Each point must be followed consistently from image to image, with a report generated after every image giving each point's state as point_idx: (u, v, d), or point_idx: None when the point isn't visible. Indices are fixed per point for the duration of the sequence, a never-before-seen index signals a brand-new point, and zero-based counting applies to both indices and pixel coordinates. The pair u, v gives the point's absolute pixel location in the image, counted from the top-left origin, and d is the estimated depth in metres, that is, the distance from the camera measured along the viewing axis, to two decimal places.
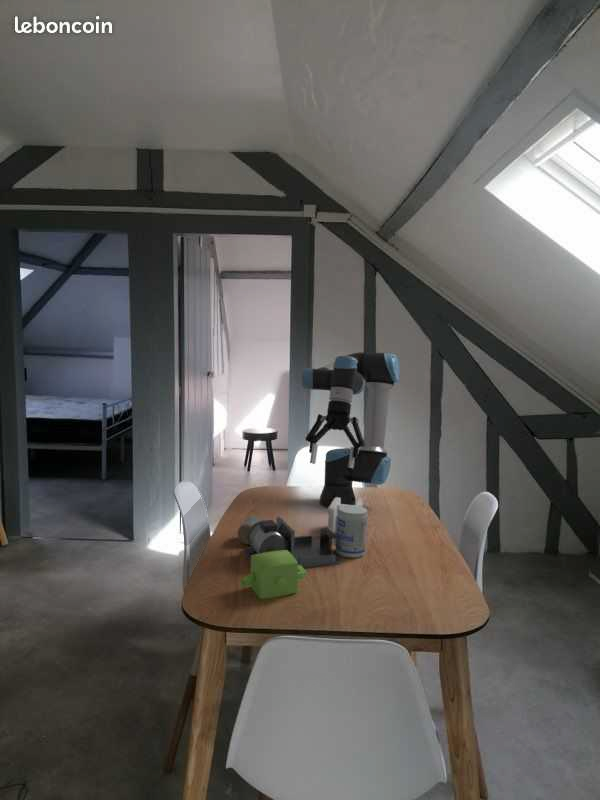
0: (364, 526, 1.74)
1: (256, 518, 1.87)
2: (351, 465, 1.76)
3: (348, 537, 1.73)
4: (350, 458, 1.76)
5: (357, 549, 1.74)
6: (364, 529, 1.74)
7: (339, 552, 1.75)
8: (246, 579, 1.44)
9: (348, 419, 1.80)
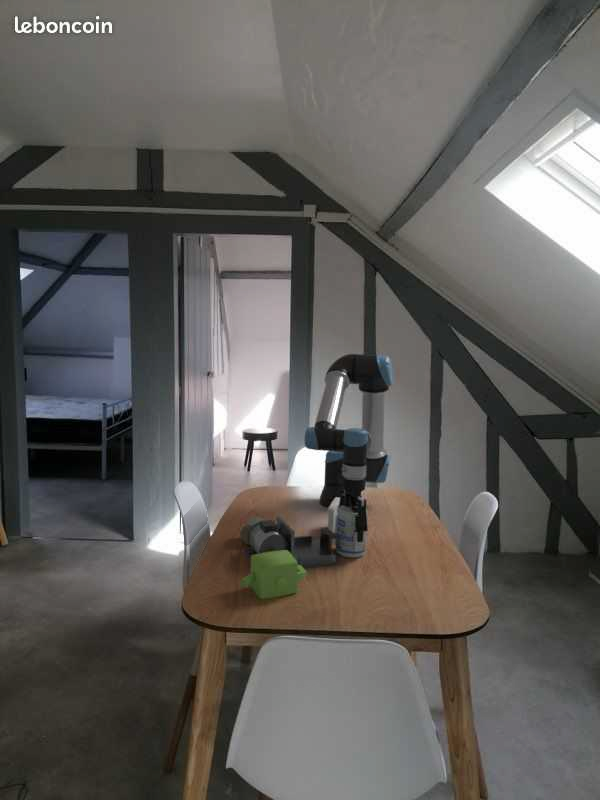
0: None
1: (258, 518, 1.86)
2: (357, 549, 1.73)
3: (348, 537, 1.73)
4: (354, 542, 1.72)
5: None
6: None
7: (339, 552, 1.75)
8: (246, 579, 1.44)
9: (356, 499, 1.72)
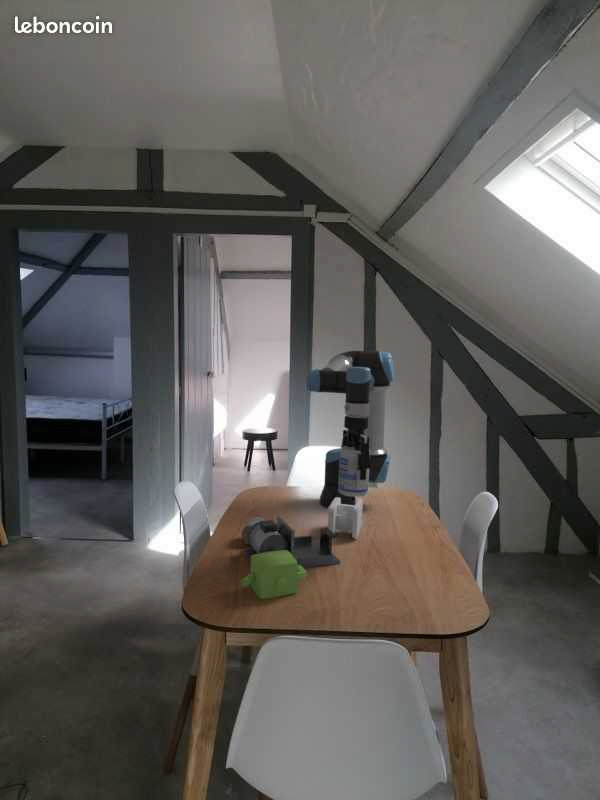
0: None
1: (260, 519, 1.86)
2: (359, 487, 1.71)
3: (350, 476, 1.71)
4: (357, 480, 1.70)
5: None
6: None
7: (342, 491, 1.73)
8: (246, 579, 1.44)
9: (359, 437, 1.70)
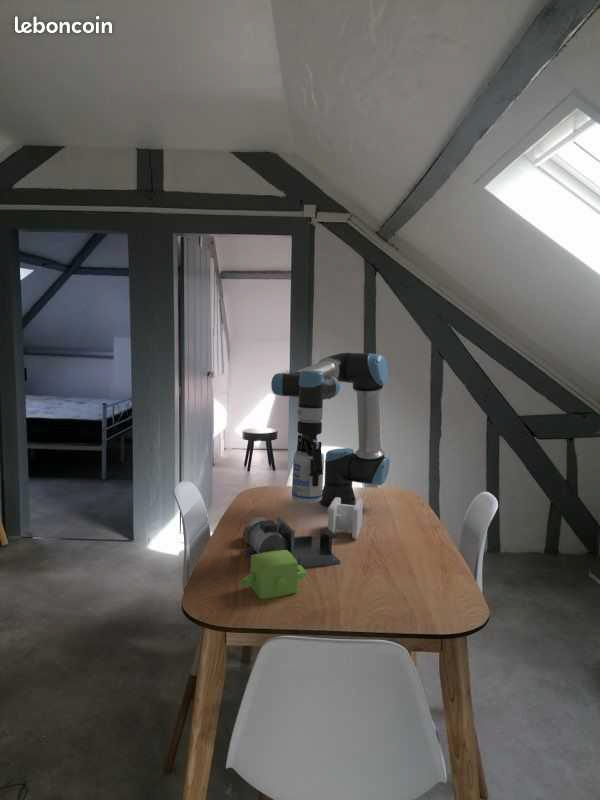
0: None
1: (261, 519, 1.86)
2: (312, 494, 1.67)
3: (303, 482, 1.68)
4: (309, 487, 1.67)
5: None
6: None
7: (294, 498, 1.70)
8: (246, 579, 1.44)
9: (311, 442, 1.67)
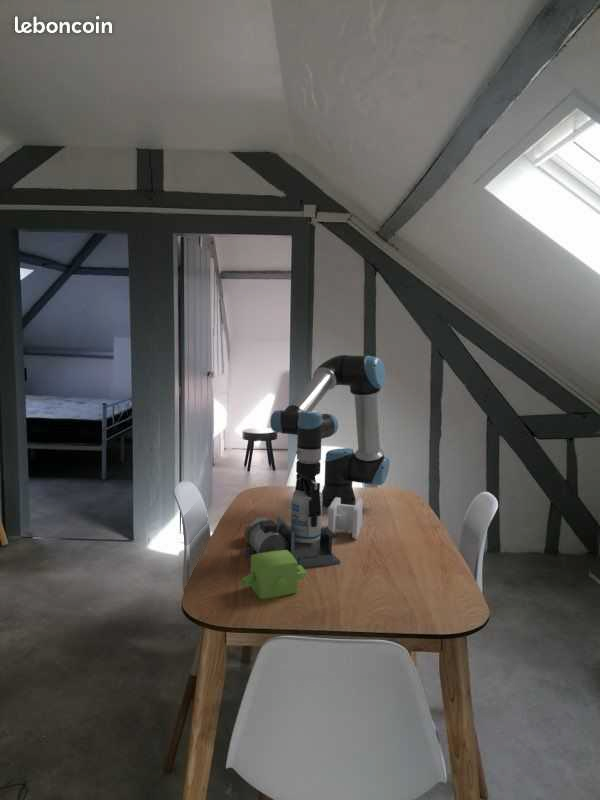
0: None
1: (263, 519, 1.86)
2: (310, 534, 1.68)
3: (301, 522, 1.69)
4: (308, 527, 1.68)
5: None
6: None
7: None
8: (246, 579, 1.44)
9: (310, 483, 1.68)
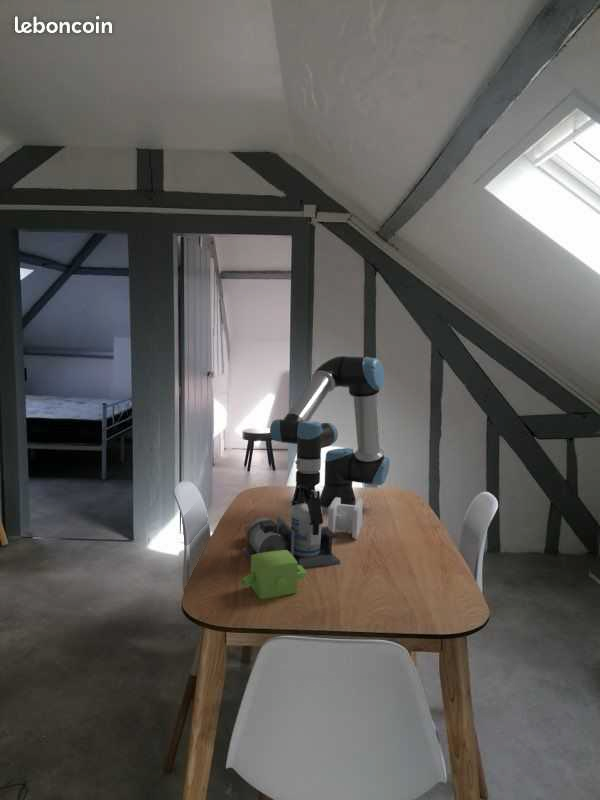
0: None
1: (264, 519, 1.86)
2: (312, 542, 1.67)
3: (301, 536, 1.69)
4: (310, 535, 1.67)
5: (310, 548, 1.70)
6: None
7: None
8: (246, 579, 1.44)
9: (310, 492, 1.68)
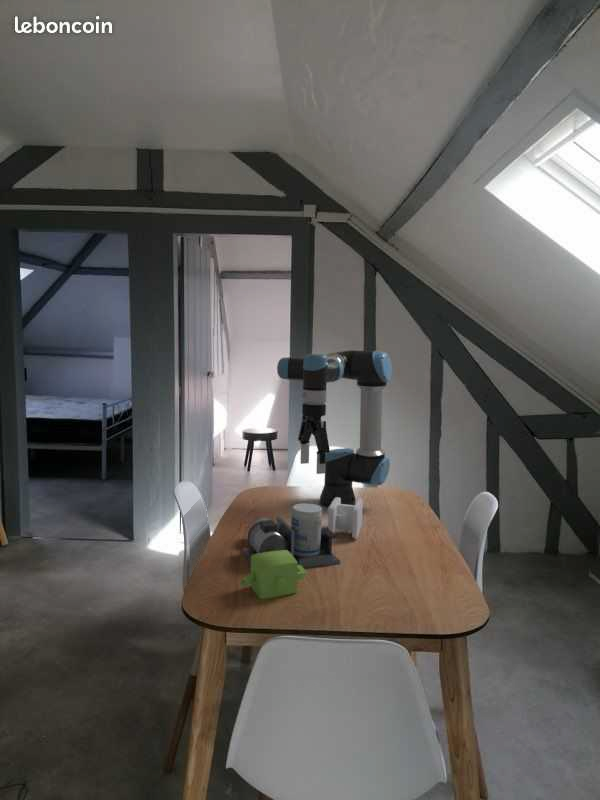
0: (318, 525, 1.71)
1: (266, 519, 1.86)
2: (319, 471, 1.71)
3: (301, 536, 1.69)
4: (317, 464, 1.71)
5: (310, 548, 1.70)
6: (318, 528, 1.71)
7: None
8: (246, 579, 1.44)
9: (316, 423, 1.72)
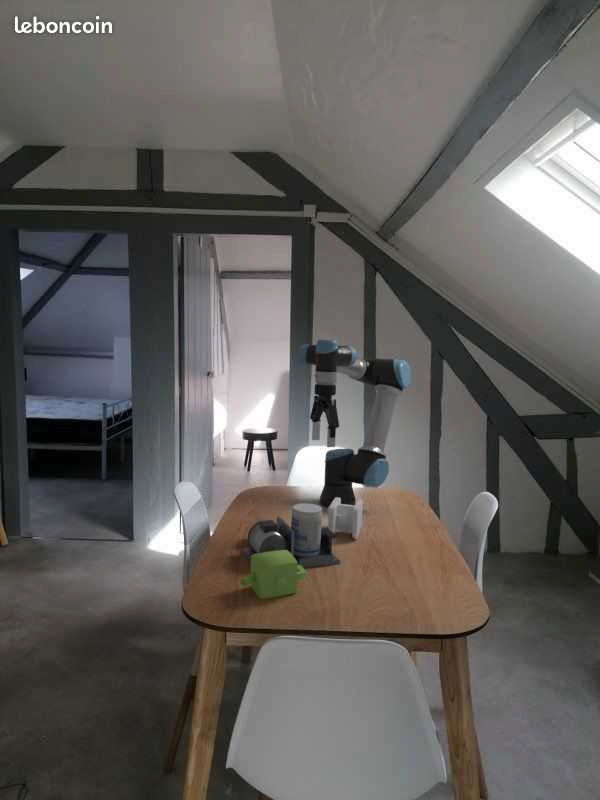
0: (318, 525, 1.71)
1: (267, 519, 1.86)
2: (330, 445, 1.89)
3: (301, 536, 1.69)
4: (327, 438, 1.89)
5: (310, 548, 1.70)
6: (318, 528, 1.71)
7: None
8: (246, 579, 1.44)
9: (327, 401, 1.90)
